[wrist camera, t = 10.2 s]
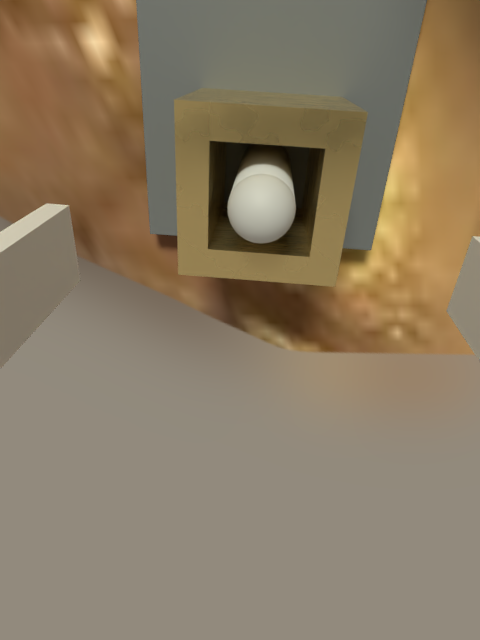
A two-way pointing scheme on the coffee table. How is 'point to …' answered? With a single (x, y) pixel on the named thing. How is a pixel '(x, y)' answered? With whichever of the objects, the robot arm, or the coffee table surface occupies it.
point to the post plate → (278, 77)
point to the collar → (270, 129)
